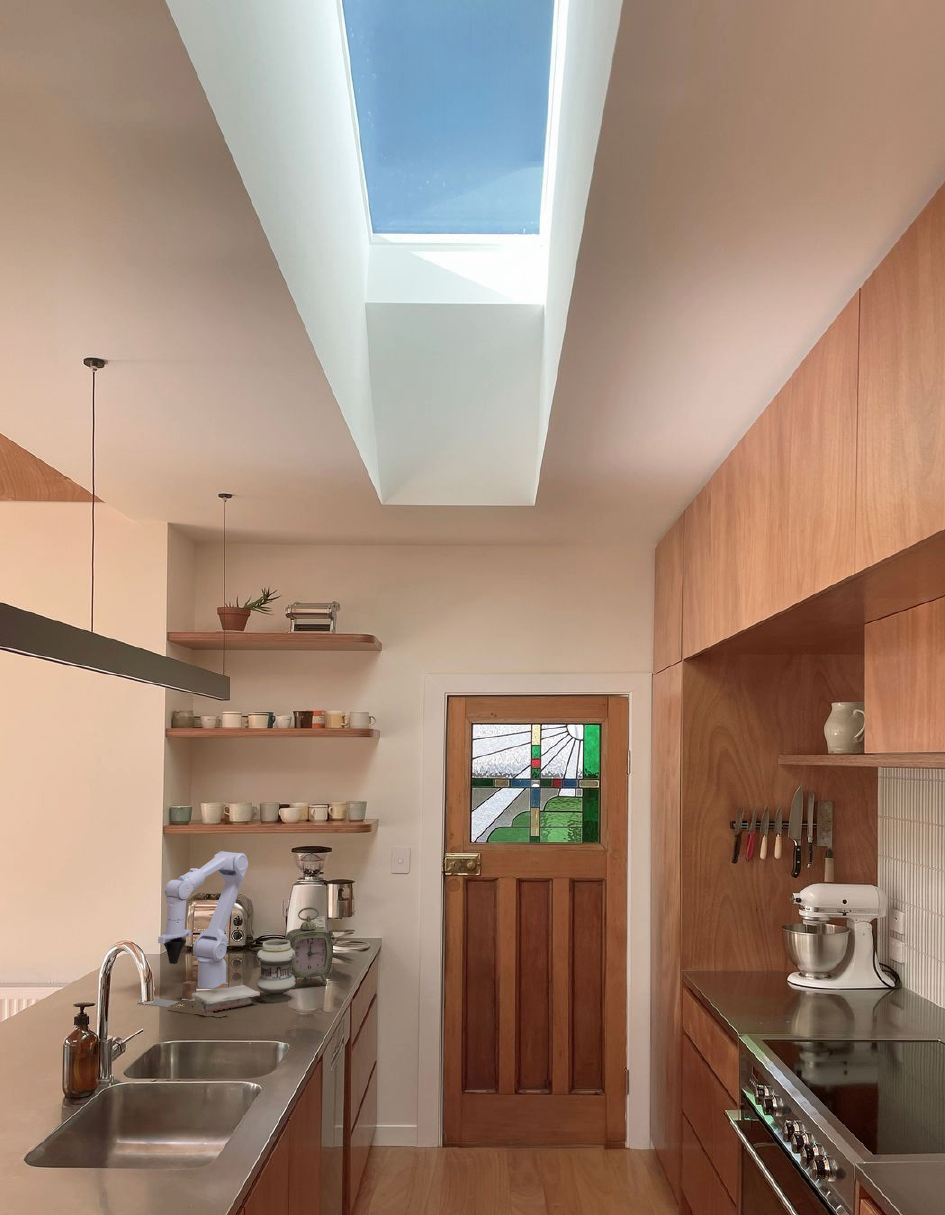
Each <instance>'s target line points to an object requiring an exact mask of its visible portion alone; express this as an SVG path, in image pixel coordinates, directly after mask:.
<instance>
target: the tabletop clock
mask: <svg viewBox="0 0 945 1215" xmlns="http://www.w3.org/2000/svg"><path fill="white" fill-rule="evenodd" d="M307 910H314V911H315V912H316V913H317V914H316V916H313V917H311V916H309V915H307V916H306V918H304V917H301V916H300V914H302V912H303V911H307ZM319 912H320V911H319V910H318V909H317V908H315V907H311V906H310V907H307V906H306V907H303V908H301V910H299V911H298V913H297V917H298V918H299V919H300V920H301V921H304V922H302V923H301V925H300V928H295V929H291V930H289V931H287V933H286V935H285V938H284V940H289V941H290V946H291V948H293V949H294V951H295V958H294V959H293V960H292V963H291V965H292V966H291V967H292V975H293V976H294V977H295V979H296V980H297V978H299V979H302V978H303V979H302V983H303V984H307V983H308V978H314V977H316V978H317V977H320V978H321V980H322V983H321V984H322V985H324V986H326V985H327V984H328V980H327V979H325V978H324V976H325V975H326V974H328V973H329V972H330V970H331V969H332V962H333V941H332V937H331V934H330V933H329V932H328V931H327V930H325V929H324V928H320V927H317V925H316V924H315V922H313V920H315V919H317V918H318V916H319ZM296 986H297V985H296V984H295V985H294V987H293V988H292V989H295V988H296Z"/></svg>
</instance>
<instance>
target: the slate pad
mask: <svg viewBox="0 0 945 1215" xmlns="http://www.w3.org/2000/svg"><path fill="white" fill-rule="evenodd" d="M153 998H154V1000H153V1003H151V1004H145V1005H144V1004H143V1002H142V1001H143V1000H140V1001H138V1002H137V1003H136V1004H137V1005H139V1006H142V1005H143V1006H152V1007H159V1008H160V1007H162V1008H163V1007H164V1008H169V1007H172V1006H174V1004H175V1005H177V1004H179V1003H180V1001H178V1000H170V999H162V998H155V997H153ZM178 1002H179V1003H178ZM176 1003H177V1004H176ZM171 1005H172V1006H171Z"/></svg>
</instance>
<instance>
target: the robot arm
mask: <svg viewBox="0 0 945 1215" xmlns="http://www.w3.org/2000/svg"><path fill="white" fill-rule="evenodd" d="M248 866H249V861H248V857H247V855H246V854H245V853H244V852H233V851H232V852H231V851H224V850H222V851H219V852H218V853H216V854H214V855H213V858H212V859H211V860H209V861H207V863H206V864H204V865H202V866H201V867H200V868H194V867H192V868H190V869H188V870H189V871H188V872H186V873H185V874H183V875H180V876H179V878H178V877H177V879H171V880H169V881H168V882H167V883H166V885H165V888H164V889H163V892H164V895H165V898H166V899H165V900H166V902H165V903H167V906H166V907H167V908H166V923H165V924H166V925H165V932H164V931H163V932H162V934H161V935H160V936H158V939H157V940H158V942H157V943H158V944H163V946H164V947H165V951H166V953H167V957H168V958H167V959H168V963H169V964H171V965H176V964H178V961H179V958H180V955H181V952H182V950H183V947H184V946H185V945H186V943H187V939H185V938H186V937H191V936H192V929H187V928H186V916H187V915H186V913H187V912H186V911H187V899H189V898H190V896H191V894H192V892H193V891H194V890H196V889H197V888H199V887H201V886H202V885H204V883H205V880H206V878H208V877H210V876H212V875H213V874H215V873H217V872H218V873H219V875H220V877H221V878H222V879H224V885H223V888H222V891H221V893H220V896H219V897H218V898H219V899H218V900H217V904H216V906H215V909H214V912H213V915H212V917H211V920H210V922H209V924H208V925H209V926H208V927H207V928H206V929H205V930H203V931H201V932H200V933H199V936H198V938H197V939H196V940H195V942H194V944H193V947H192V948H193V950H192V952H193V955H194V956H195V957H196V961H197V988H200V989H216V988H219V987H220V986H221V985H223V984H227V985H228V984H229V983H228V982H227V962H226V960H225V959H224V957H225V956H226V953H227V948H228V942H229V939H228V937H227V935H226V933H225V931H226V929H227V926H228V923H229V920H230V919H231V918H230V917H231V914H232V912H233V909H234V907H235V904H236V901H237V898H238V896H239V893H240V890H241V888H242V884H243V882H244V878H245V875H246V872H247V871H248Z"/></svg>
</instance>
